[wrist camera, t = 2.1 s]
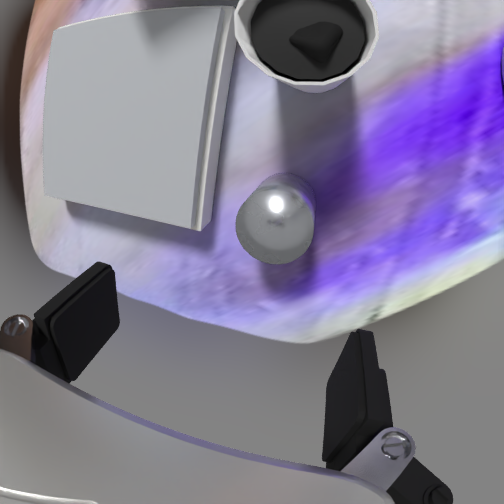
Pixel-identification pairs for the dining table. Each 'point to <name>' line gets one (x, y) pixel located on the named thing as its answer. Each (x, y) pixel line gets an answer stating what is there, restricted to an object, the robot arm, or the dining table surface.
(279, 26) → the white cup
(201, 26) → the kitchen scale
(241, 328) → the dining table surface
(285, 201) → the grey piece
